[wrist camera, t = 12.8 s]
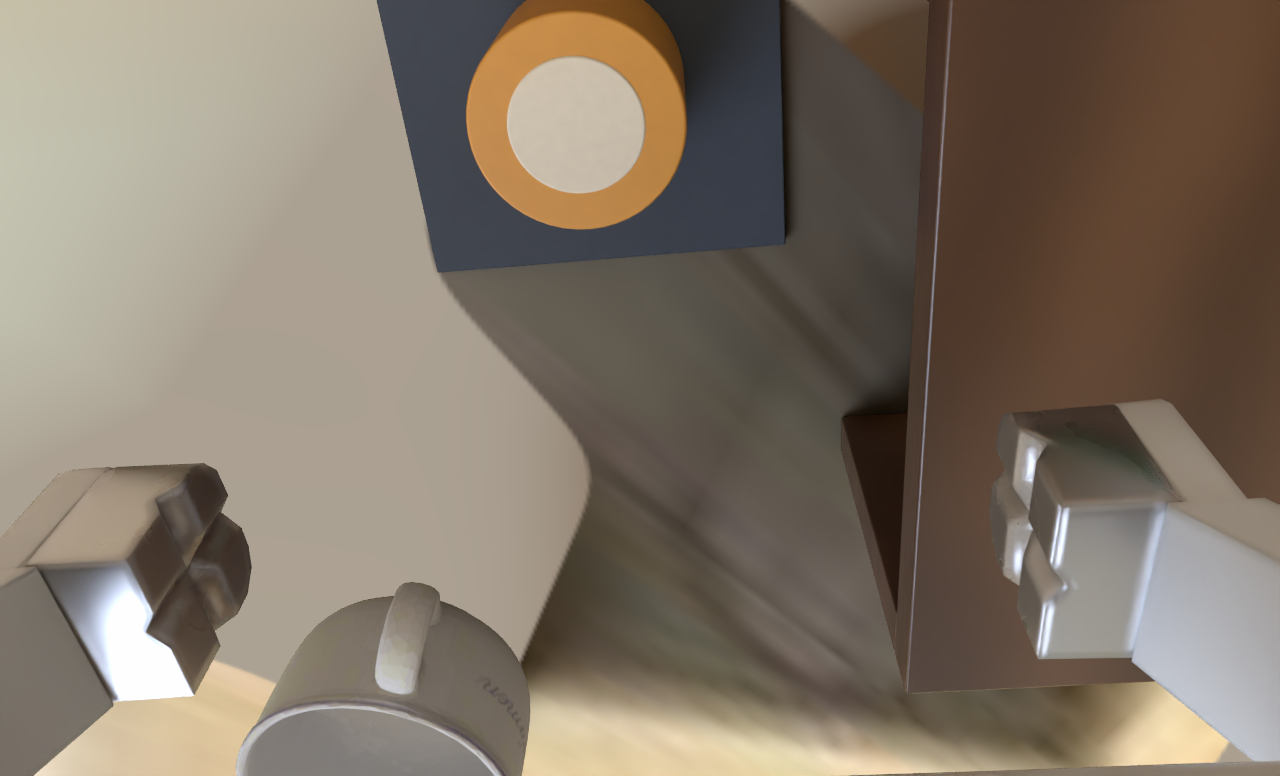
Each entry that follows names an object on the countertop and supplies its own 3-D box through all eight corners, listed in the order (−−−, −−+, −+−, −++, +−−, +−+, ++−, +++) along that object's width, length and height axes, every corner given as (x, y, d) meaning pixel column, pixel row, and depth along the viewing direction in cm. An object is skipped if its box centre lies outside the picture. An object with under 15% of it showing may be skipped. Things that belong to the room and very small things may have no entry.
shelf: (1365, -183, 27) (1798, -161, 17) (1214, 425, 37) (1422, 669, 27) (847, -127, 28) (953, -74, 18) (840, 450, 38) (905, 695, 28)
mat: (775, -160, 27) (776, -159, 27) (784, 239, 34) (785, 244, 33) (354, -114, 28) (350, -113, 28) (439, 268, 34) (437, 272, 34)
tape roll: (676, -31, 29) (678, -1, 25) (690, 166, 32) (694, 222, 28) (475, -11, 29) (444, 22, 25) (508, 183, 32) (486, 239, 28)
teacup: (492, 753, 48) (464, 913, 41) (273, 687, 46) (205, 845, 39) (602, 556, 41) (590, 709, 34) (351, 468, 39) (285, 613, 32)
